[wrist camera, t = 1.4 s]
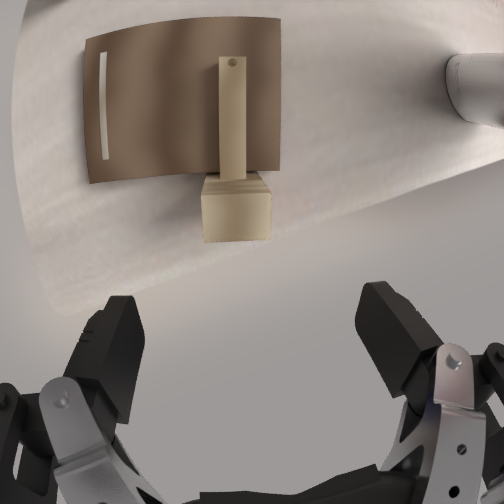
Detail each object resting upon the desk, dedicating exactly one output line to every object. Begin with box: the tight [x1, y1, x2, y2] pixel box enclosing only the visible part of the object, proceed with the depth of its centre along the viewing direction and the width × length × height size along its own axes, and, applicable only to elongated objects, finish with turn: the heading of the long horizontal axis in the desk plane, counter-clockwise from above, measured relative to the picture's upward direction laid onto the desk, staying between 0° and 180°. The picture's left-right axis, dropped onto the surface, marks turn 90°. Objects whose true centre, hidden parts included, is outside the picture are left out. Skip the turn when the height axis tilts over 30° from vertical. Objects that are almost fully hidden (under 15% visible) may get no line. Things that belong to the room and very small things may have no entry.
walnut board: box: [83, 17, 281, 184], centre depth 20 cm, size 17×14×2 cm
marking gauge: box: [201, 57, 272, 243], centre depth 19 cm, size 4×13×8 cm, turn 0°
